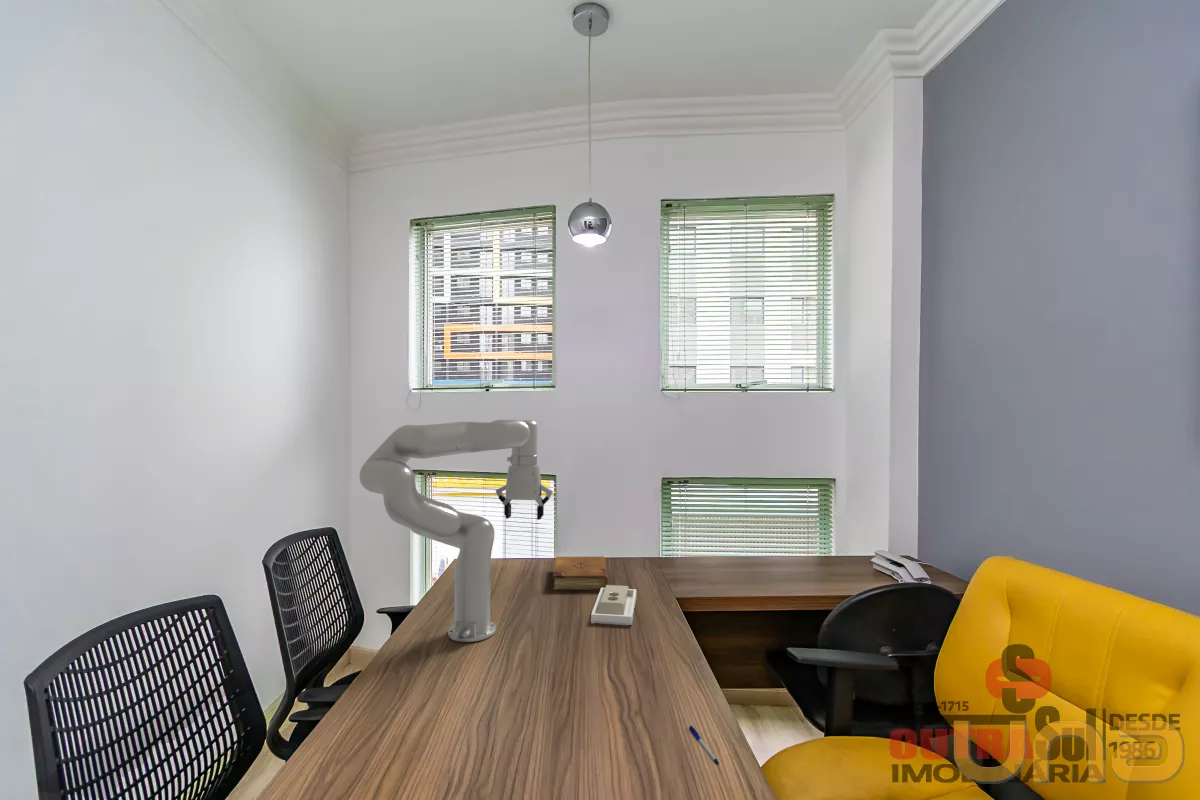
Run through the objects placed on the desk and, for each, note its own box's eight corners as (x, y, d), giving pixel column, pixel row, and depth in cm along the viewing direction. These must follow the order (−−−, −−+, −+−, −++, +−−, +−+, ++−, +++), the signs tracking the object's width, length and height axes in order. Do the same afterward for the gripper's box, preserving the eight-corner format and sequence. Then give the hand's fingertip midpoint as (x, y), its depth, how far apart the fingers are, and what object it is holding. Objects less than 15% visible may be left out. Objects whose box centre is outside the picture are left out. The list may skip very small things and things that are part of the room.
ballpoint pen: (687, 729, 97) (687, 724, 97) (691, 728, 97) (691, 723, 97) (716, 766, 87) (716, 760, 87) (721, 764, 87) (721, 758, 87)
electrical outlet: (628, 583, 166) (623, 603, 148) (628, 595, 166) (623, 617, 148) (606, 582, 167) (599, 602, 149) (606, 594, 167) (599, 616, 149)
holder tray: (631, 625, 144) (631, 616, 144) (591, 623, 146) (591, 614, 146) (636, 597, 166) (636, 589, 167) (601, 595, 168) (601, 587, 168)
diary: (607, 592, 172) (608, 575, 173) (552, 593, 172) (552, 575, 172) (605, 571, 195) (605, 555, 196) (556, 571, 195) (556, 556, 195)
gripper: (492, 461, 151) (491, 520, 151) (549, 462, 149) (549, 521, 148) (500, 459, 159) (500, 515, 158) (555, 460, 156) (554, 516, 156)
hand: (523, 518), depth 153 cm, fingers open, 9 cm apart
